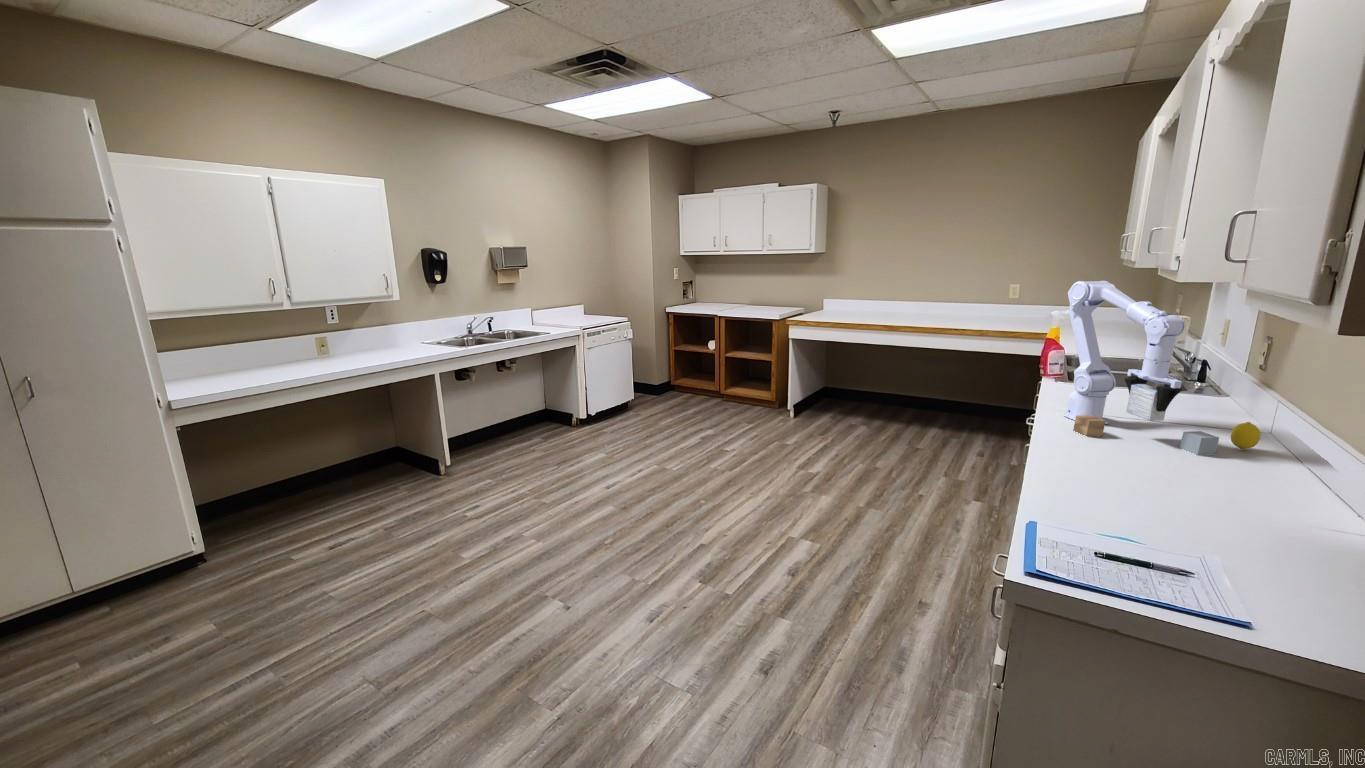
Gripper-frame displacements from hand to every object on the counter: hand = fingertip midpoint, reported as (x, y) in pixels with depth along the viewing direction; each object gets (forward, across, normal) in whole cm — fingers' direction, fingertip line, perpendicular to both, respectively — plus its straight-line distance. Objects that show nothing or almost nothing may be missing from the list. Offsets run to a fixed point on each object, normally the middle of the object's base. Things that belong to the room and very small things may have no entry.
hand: (1147, 406), depth 155 cm
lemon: (+10, +10, +20) cm, 25 cm away
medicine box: (+3, 0, 0) cm, 3 cm away
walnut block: (+10, -6, -11) cm, 16 cm away
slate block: (+10, +10, +7) cm, 16 cm away
